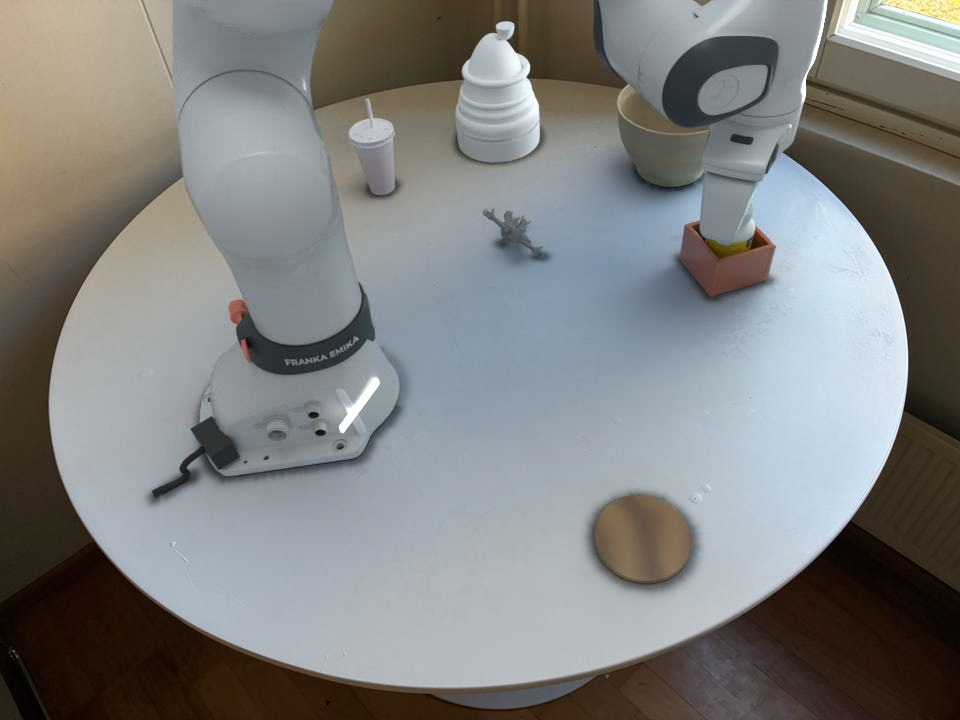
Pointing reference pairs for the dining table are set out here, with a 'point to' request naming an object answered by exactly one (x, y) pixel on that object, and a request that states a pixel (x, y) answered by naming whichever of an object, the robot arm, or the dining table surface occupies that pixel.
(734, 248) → the supplement bottle
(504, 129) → the honey pot
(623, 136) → the planter bowl
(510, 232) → the grey creature figurine
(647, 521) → the coaster
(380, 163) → the smoothie
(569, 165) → the dining table surface
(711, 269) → the box
